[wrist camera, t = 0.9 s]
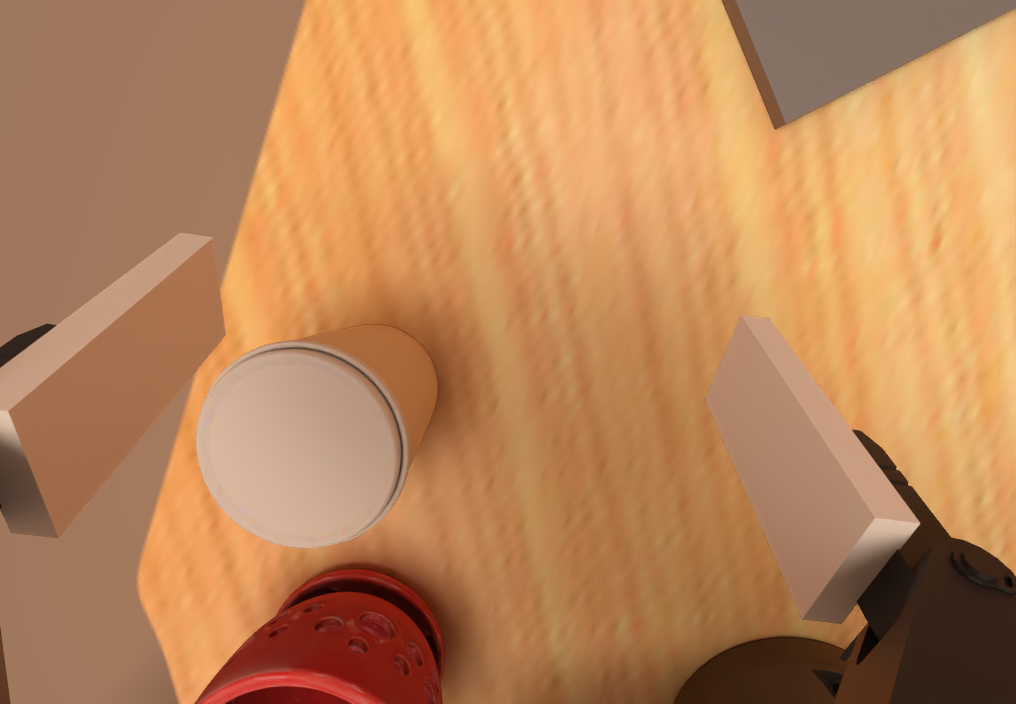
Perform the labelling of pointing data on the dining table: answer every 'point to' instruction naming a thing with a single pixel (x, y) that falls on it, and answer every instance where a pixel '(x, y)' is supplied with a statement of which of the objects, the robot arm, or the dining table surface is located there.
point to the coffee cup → (316, 433)
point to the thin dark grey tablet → (842, 43)
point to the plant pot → (339, 648)
